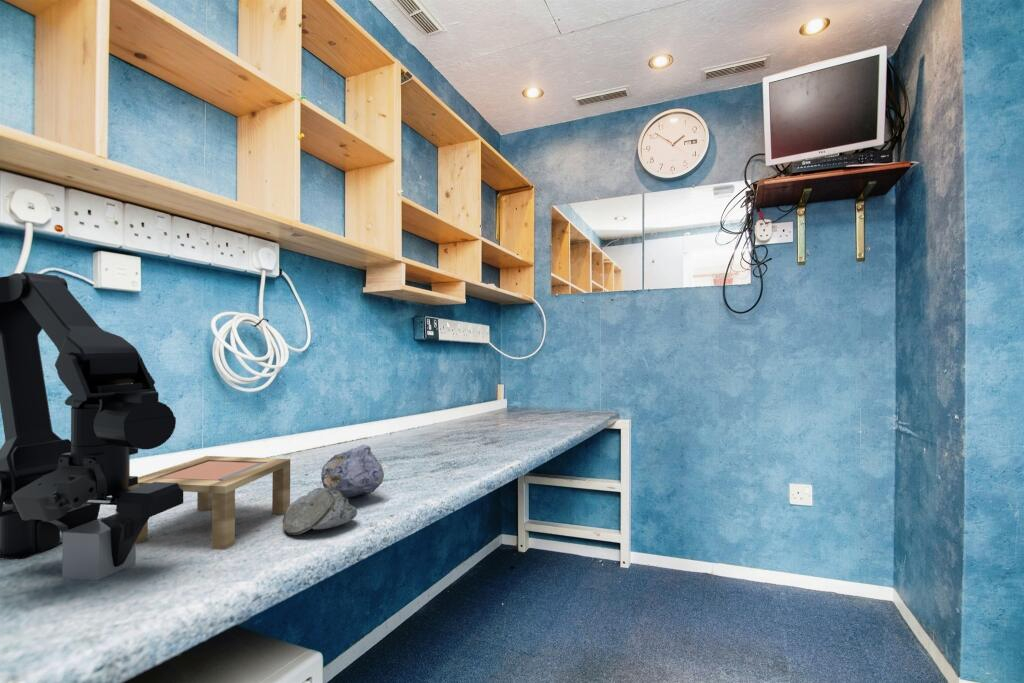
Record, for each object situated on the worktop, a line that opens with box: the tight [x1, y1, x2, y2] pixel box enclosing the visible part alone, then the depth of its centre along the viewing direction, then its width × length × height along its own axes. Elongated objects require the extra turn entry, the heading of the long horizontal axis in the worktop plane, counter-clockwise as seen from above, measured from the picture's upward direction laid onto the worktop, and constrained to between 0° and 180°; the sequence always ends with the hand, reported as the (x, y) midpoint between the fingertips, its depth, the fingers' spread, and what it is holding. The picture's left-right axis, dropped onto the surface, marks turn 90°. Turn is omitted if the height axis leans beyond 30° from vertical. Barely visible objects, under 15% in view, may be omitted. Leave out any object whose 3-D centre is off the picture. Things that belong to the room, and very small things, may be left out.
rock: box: [320, 444, 385, 498], centre depth 88 cm, size 11×10×10 cm
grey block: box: [61, 516, 137, 581], centre depth 61 cm, size 5×5×6 cm
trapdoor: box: [160, 461, 264, 481], centre depth 76 cm, size 10×10×1 cm
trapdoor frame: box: [128, 455, 291, 551], centre depth 76 cm, size 16×16×9 cm
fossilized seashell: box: [282, 486, 358, 536], centre depth 77 cm, size 10×9×10 cm
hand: (100, 564), depth 61 cm, fingers closed on grey block, 5 cm apart
